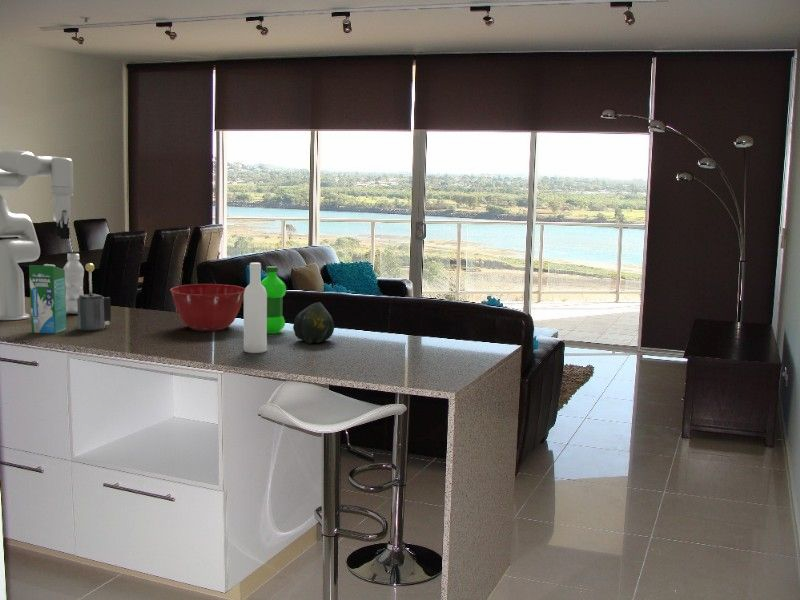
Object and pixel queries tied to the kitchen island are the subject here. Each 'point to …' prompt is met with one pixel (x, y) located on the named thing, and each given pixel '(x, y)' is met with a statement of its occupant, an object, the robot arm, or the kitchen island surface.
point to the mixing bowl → (208, 305)
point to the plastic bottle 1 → (73, 282)
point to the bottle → (255, 313)
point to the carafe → (93, 312)
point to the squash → (314, 324)
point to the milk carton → (47, 299)
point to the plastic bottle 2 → (274, 300)
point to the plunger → (90, 268)
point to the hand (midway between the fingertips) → (63, 237)
